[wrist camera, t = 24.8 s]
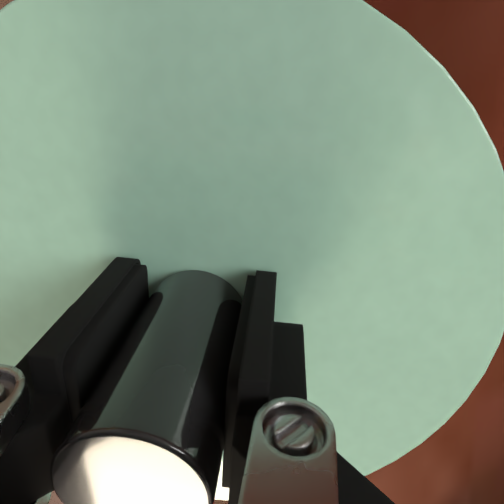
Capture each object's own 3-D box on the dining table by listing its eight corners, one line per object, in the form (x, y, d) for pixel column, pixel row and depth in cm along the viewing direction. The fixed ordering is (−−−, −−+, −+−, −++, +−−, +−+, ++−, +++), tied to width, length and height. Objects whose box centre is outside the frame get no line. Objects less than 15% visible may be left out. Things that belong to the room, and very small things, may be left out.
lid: (414, 494, 15) (491, 758, 9) (4, 443, 16) (-158, 655, 10) (604, -13, 8) (1362, -207, 2) (-143, -56, 9) (-913, -274, 3)
